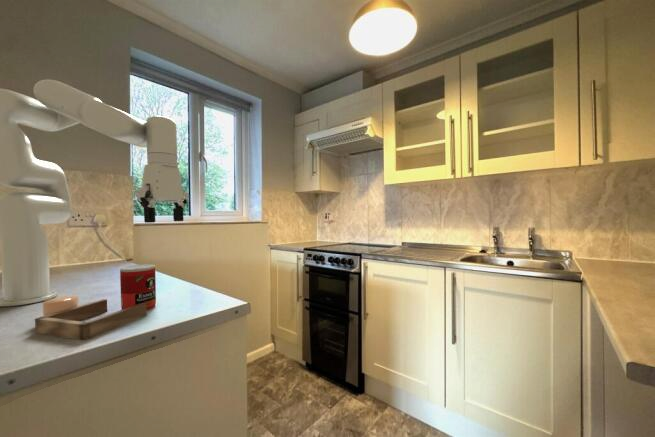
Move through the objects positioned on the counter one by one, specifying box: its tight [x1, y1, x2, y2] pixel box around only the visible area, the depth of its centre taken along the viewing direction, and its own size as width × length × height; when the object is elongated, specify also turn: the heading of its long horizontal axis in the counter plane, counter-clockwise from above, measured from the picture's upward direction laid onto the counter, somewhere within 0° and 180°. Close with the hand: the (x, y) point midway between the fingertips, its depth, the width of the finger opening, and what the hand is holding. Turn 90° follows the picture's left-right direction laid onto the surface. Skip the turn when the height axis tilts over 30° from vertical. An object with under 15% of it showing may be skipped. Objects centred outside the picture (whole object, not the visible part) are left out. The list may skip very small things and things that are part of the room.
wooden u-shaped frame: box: [34, 298, 148, 341], centre depth 65 cm, size 14×14×3 cm
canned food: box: [119, 263, 157, 311], centre depth 75 cm, size 8×8×11 cm
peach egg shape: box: [42, 295, 79, 317], centre depth 67 cm, size 6×6×5 cm
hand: (165, 221), depth 81 cm, fingers open, 9 cm apart
